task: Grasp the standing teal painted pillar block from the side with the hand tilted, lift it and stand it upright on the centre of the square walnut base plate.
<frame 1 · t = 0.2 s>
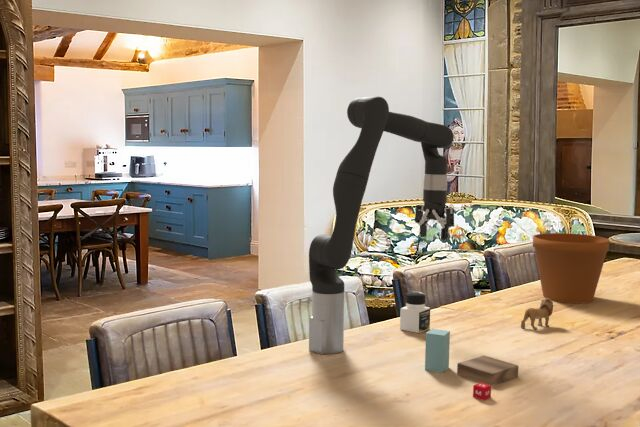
hand: (433, 238, 236), 29 cm above the table, tool pointing down, fingers open, 8 cm apart
walnut base plate: (487, 375, 190), on the table
flowerpot: (567, 298, 285), on the table
dice: (481, 398, 174), on the table
lion figurine: (536, 327, 240), on the table
medicine bottle: (414, 330, 235), on the table
teal pillar block: (436, 368, 195), on the table
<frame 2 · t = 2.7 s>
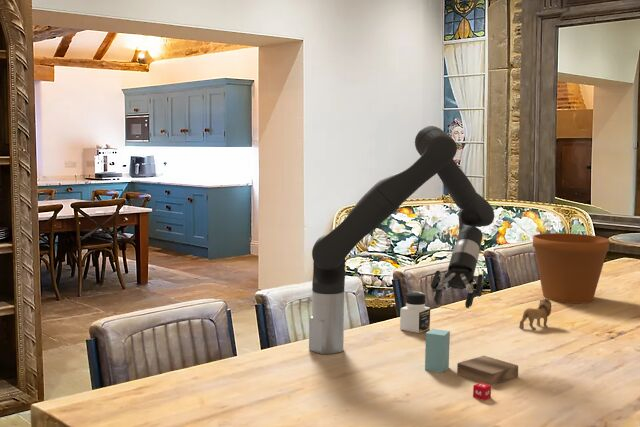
hand: (451, 305, 204), 15 cm above the table, tool tilted 45°, fingers open, 8 cm apart
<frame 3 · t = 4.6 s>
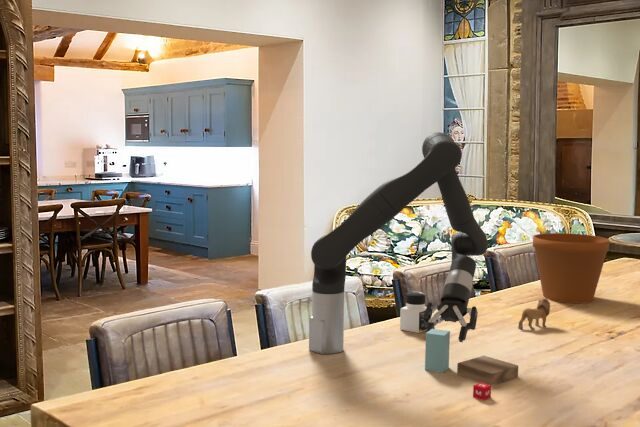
hand: (444, 338, 196), 8 cm above the table, tool tilted 45°, fingers open, 8 cm apart
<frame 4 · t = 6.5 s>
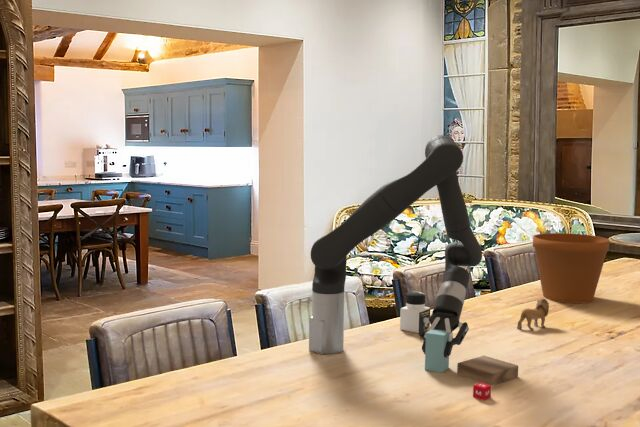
hand: (435, 354, 193), 4 cm above the table, tool tilted 45°, fingers closed on teal pillar block, 5 cm apart
teal pillar block: (436, 368, 195), on the table, touching gripper
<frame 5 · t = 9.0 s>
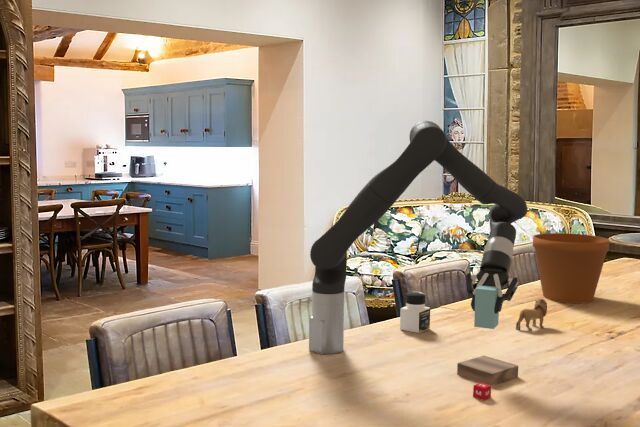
hand: (484, 310, 187), 17 cm above the table, tool tilted 45°, fingers closed on teal pillar block, 5 cm apart
teal pillar block: (486, 325, 189), point 13 cm above the table, touching gripper
when the fingers open (9 cm above the table, at t = 11.6 s): teal pillar block drops 1 cm, resting on walnut base plate.
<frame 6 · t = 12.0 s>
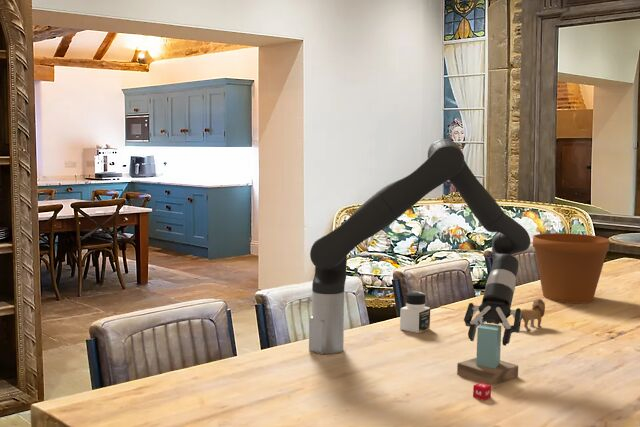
hand: (487, 341, 188), 9 cm above the table, tool tilted 45°, fingers open, 8 cm apart
teal pillar block: (488, 364, 190), point 3 cm above the table, touching walnut base plate
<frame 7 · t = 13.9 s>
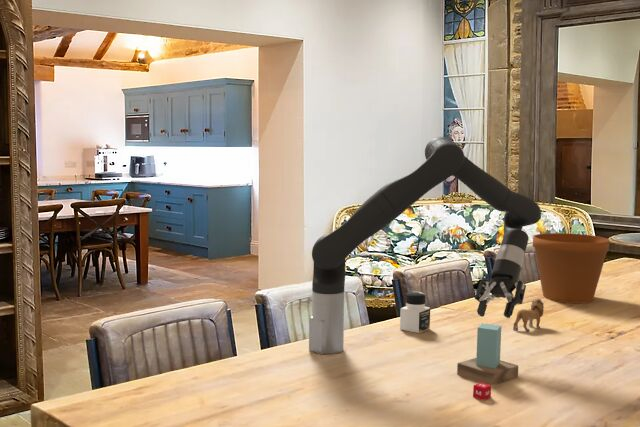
hand: (493, 316, 201), 13 cm above the table, tool tilted 35°, fingers open, 8 cm apart
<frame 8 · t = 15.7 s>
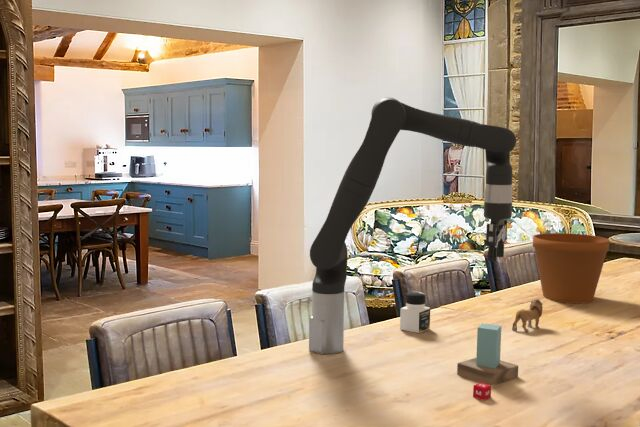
hand: (495, 258, 203), 28 cm above the table, tool pointing down, fingers open, 8 cm apart
at the end: teal pillar block inside the target area on the walnut base plate (0.1 cm from its centre), point 3.0 cm above the walnut base plate's base; teal pillar block tilted 0°; the gripper is holding nothing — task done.
